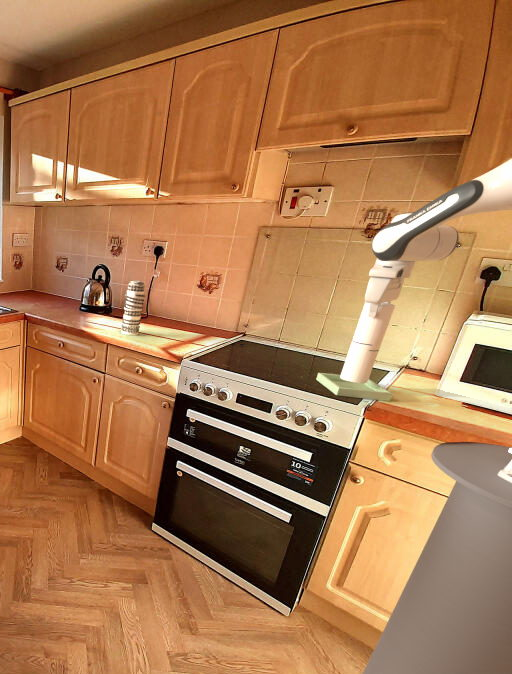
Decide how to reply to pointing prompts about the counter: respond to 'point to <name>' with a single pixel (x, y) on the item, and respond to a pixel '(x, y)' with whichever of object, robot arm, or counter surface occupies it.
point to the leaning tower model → (133, 307)
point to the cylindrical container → (366, 343)
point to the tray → (353, 388)
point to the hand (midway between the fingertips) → (375, 316)
